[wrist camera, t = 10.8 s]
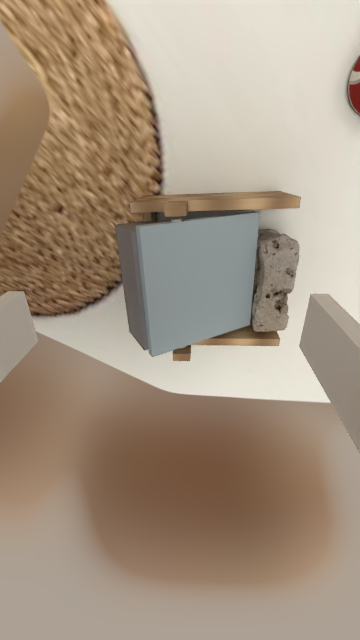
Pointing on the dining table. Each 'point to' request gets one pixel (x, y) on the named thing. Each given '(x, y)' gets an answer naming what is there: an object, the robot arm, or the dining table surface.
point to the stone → (273, 280)
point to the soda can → (355, 87)
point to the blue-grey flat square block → (187, 278)
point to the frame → (211, 202)
